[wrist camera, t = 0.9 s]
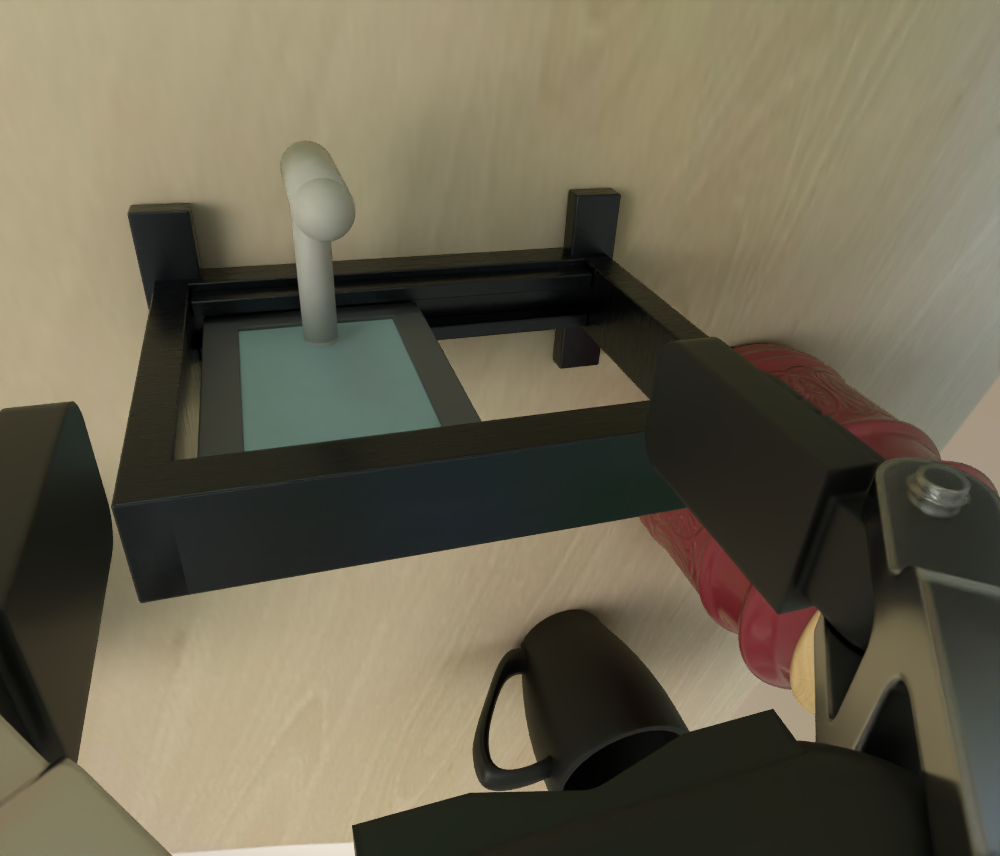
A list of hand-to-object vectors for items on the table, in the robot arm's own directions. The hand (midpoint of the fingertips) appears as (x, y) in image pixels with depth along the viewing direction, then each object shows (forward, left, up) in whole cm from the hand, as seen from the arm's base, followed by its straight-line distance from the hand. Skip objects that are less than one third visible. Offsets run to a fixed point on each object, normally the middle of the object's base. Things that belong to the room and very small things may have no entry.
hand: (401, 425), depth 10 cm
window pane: (-1, +3, -18) cm, 19 cm away
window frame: (-5, +6, -20) cm, 22 cm away
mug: (-17, +28, -21) cm, 38 cm away
